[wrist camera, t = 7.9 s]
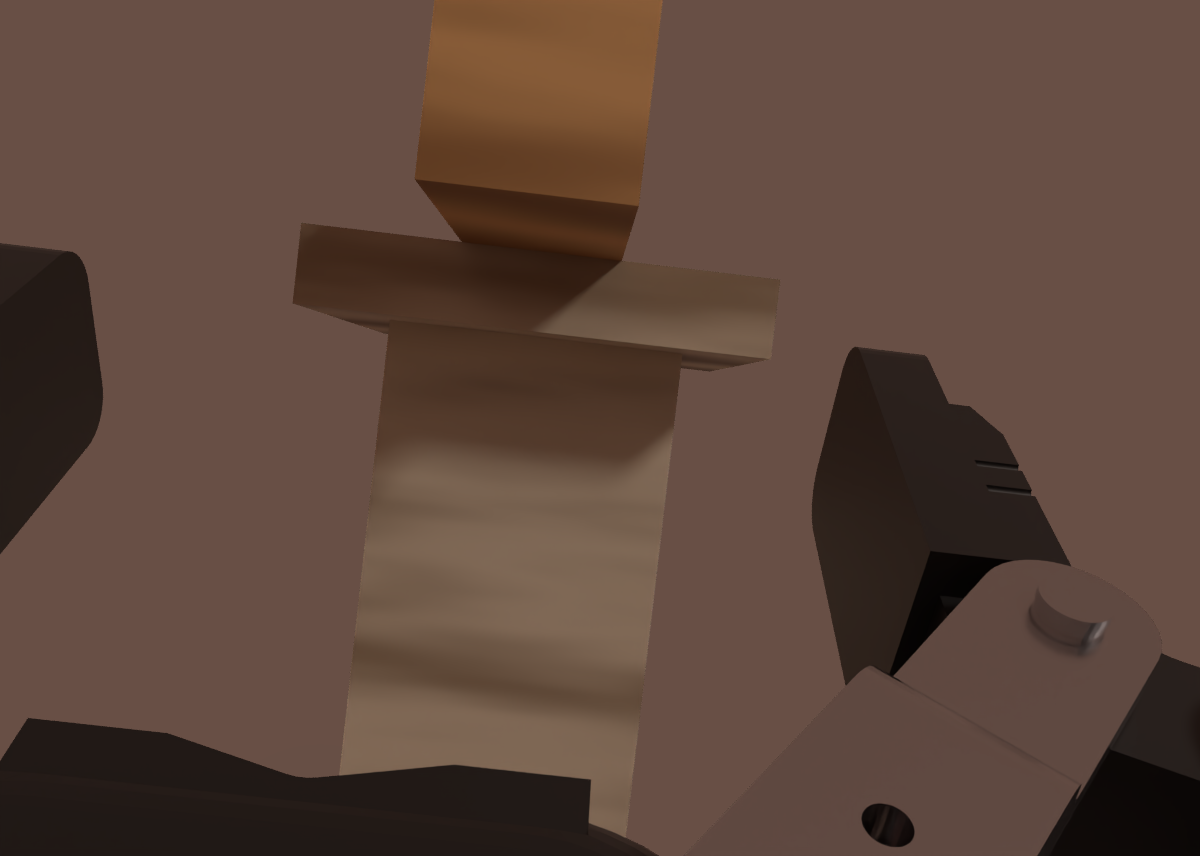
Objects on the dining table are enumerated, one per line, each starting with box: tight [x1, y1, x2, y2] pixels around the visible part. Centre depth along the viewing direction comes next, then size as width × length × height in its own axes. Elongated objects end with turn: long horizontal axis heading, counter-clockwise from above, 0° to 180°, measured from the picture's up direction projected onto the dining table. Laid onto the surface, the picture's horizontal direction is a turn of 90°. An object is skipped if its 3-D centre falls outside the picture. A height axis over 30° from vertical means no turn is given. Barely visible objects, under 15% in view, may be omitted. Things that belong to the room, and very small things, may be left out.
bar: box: [415, 0, 663, 261], centre depth 30 cm, size 20×4×4 cm, turn 1°
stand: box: [293, 223, 780, 838], centre depth 35 cm, size 14×14×32 cm
